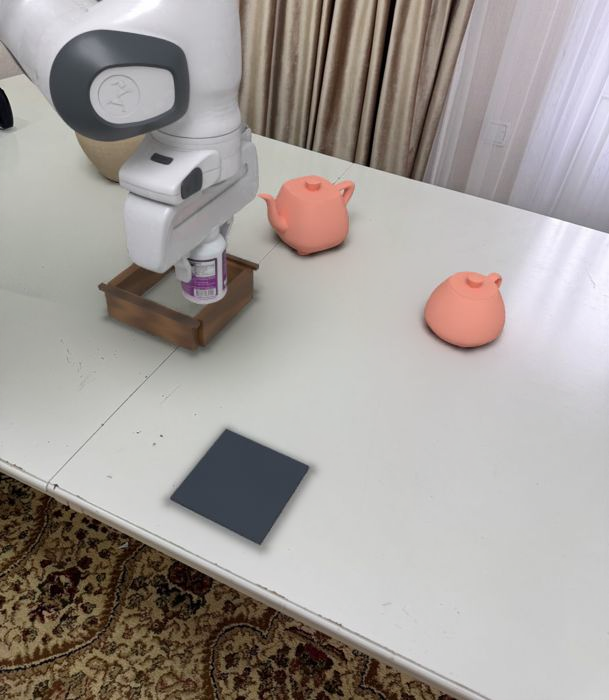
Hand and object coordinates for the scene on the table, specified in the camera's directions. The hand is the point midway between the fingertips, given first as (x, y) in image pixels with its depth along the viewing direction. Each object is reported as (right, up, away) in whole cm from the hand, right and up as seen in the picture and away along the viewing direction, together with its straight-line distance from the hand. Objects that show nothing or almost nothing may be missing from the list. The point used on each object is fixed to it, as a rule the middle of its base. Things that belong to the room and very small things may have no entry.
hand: (202, 263), depth 71 cm
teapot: (+12, +10, +44) cm, 46 cm away
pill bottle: (0, -3, +3) cm, 4 cm away
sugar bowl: (+37, -6, +28) cm, 47 cm away
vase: (-26, +26, +58) cm, 68 cm away
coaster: (+4, -26, +3) cm, 26 cm away
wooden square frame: (-8, -2, +28) cm, 29 cm away
